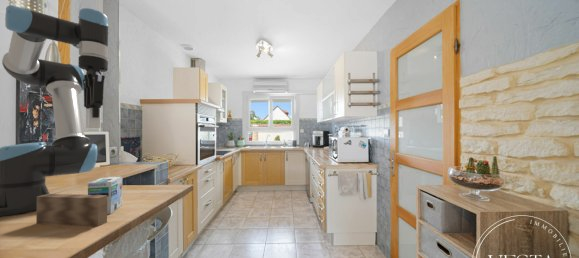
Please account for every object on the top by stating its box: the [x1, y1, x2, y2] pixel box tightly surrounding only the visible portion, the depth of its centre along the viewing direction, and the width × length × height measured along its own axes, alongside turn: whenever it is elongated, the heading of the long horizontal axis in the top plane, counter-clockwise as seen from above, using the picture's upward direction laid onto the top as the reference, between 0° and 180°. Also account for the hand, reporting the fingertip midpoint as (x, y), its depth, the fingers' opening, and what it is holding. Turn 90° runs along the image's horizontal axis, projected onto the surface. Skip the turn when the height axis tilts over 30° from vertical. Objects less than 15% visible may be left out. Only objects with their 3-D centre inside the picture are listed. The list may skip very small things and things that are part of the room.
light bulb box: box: [87, 176, 123, 215], centre depth 81 cm, size 11×7×11 cm, turn 18°
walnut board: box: [35, 193, 108, 227], centre depth 70 cm, size 20×3×8 cm, turn 84°
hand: (93, 127), depth 78 cm, fingers open, 3 cm apart
